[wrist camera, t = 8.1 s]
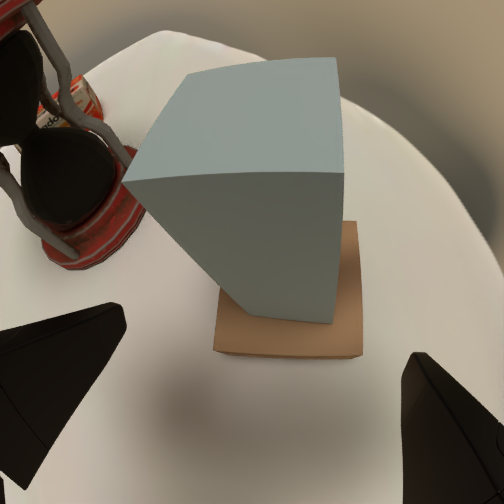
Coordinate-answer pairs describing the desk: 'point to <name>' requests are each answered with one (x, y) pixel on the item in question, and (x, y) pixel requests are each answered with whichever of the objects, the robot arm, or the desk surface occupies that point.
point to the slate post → (253, 182)
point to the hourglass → (59, 151)
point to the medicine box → (82, 99)
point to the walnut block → (300, 332)
